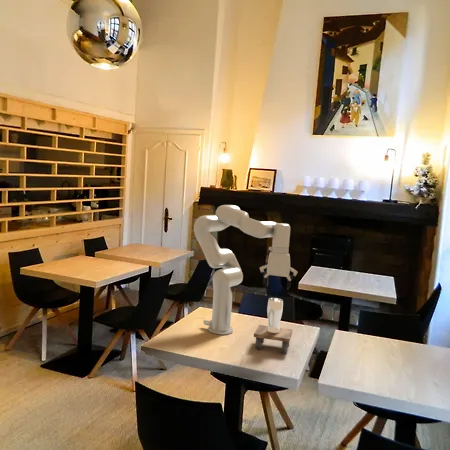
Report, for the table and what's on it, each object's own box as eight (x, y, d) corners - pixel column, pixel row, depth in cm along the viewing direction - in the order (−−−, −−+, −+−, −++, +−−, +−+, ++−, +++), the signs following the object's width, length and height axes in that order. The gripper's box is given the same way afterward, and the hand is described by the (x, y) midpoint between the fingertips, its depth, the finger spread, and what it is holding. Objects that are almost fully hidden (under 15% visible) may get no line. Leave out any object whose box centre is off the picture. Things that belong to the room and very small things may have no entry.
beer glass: (273, 335, 198) (276, 302, 196) (262, 330, 203) (265, 298, 201) (283, 332, 202) (286, 300, 201) (272, 328, 207) (275, 297, 206)
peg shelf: (252, 349, 198) (253, 333, 198) (257, 339, 212) (259, 324, 211) (288, 355, 194) (289, 339, 194) (291, 344, 208) (292, 329, 207)
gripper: (259, 249, 198) (257, 286, 199) (298, 253, 193) (295, 291, 195) (262, 247, 205) (259, 283, 206) (299, 251, 201) (296, 288, 202)
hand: (277, 287), depth 201 cm, fingers open, 9 cm apart
